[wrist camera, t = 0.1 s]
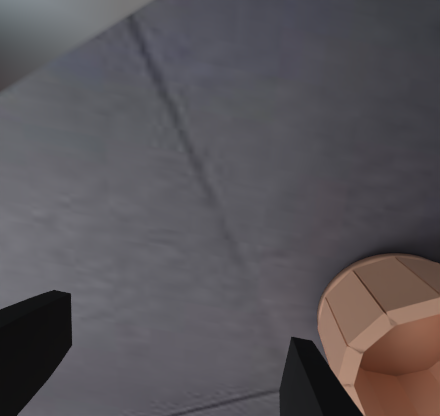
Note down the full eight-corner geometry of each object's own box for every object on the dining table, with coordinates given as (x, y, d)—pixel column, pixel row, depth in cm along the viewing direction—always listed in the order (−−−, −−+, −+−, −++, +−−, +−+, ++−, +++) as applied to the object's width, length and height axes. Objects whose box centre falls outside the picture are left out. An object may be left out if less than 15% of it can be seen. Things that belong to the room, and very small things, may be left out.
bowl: (441, 385, 18) (508, 475, 13) (305, 360, 19) (322, 434, 14) (488, 265, 16) (592, 320, 11) (332, 243, 17) (363, 283, 12)
